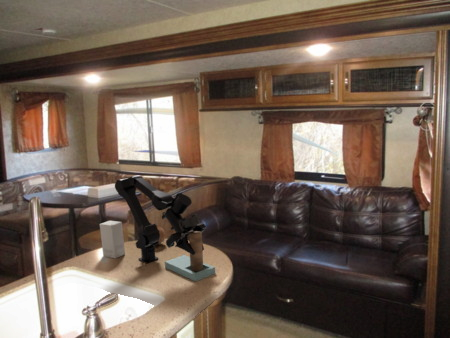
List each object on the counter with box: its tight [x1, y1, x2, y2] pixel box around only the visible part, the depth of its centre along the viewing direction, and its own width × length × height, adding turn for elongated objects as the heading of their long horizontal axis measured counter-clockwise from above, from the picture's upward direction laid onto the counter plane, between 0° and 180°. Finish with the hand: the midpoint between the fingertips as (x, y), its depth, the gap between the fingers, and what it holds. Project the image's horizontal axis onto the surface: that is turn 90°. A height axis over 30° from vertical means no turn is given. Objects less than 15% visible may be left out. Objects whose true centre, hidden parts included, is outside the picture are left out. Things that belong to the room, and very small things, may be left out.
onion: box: [155, 224, 166, 246], centre depth 176 cm, size 10×9×10 cm
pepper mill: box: [188, 231, 204, 273], centre depth 140 cm, size 5×5×15 cm
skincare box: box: [99, 220, 126, 259], centre depth 163 cm, size 8×7×16 cm
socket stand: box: [164, 254, 216, 283], centre depth 144 cm, size 20×10×2 cm, turn 44°
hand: (198, 252), depth 139 cm, fingers closed on pepper mill, 5 cm apart
